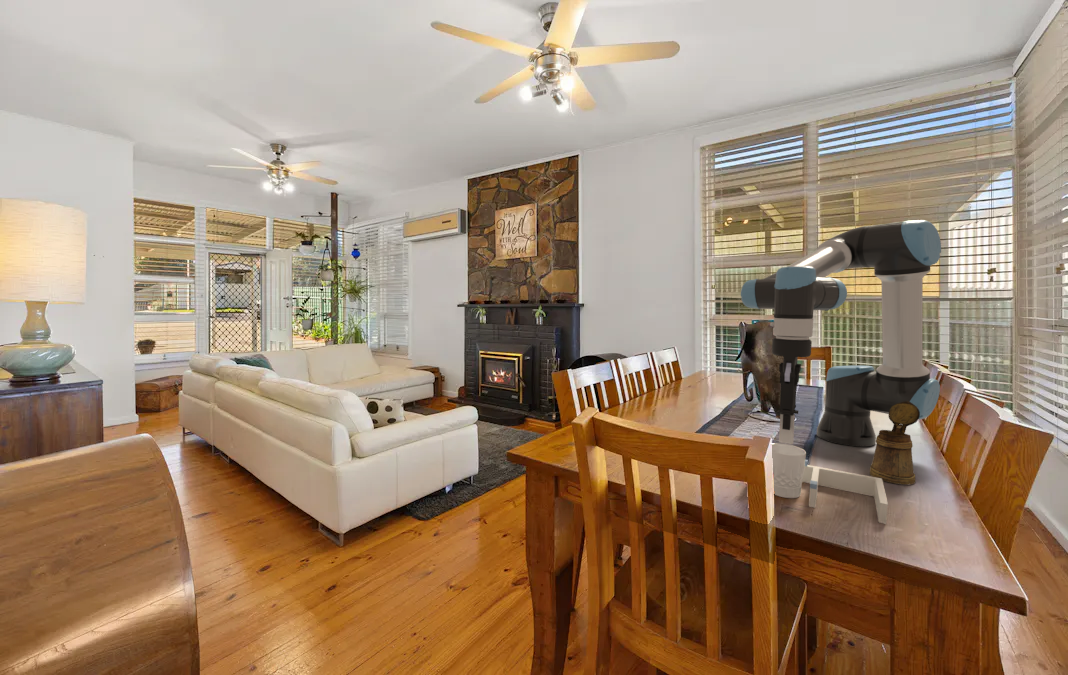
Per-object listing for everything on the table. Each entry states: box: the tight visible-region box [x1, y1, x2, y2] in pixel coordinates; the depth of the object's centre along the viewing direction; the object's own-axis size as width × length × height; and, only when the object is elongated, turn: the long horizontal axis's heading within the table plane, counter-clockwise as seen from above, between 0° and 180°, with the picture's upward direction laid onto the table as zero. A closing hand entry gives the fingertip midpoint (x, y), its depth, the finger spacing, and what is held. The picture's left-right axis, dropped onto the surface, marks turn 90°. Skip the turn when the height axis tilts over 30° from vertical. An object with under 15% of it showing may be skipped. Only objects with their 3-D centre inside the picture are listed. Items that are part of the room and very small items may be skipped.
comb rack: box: [802, 459, 889, 525], centre depth 100 cm, size 15×25×5 cm, turn 56°
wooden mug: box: [869, 401, 920, 486], centre depth 110 cm, size 9×14×18 cm, turn 127°
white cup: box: [771, 442, 807, 499], centre depth 101 cm, size 8×8×10 cm
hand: (785, 442), depth 100 cm, fingers closed
